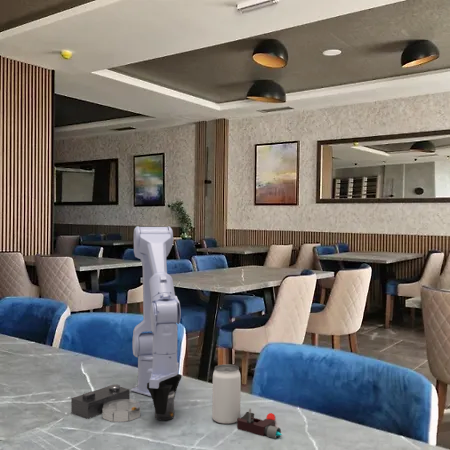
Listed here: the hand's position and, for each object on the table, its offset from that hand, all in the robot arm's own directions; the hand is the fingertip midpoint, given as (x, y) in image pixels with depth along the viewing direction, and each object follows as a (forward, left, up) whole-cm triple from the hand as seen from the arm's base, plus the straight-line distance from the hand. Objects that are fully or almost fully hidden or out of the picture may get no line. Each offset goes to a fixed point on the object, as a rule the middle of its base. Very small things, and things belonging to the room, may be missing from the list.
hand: (164, 409), depth 126 cm
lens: (0, 0, -2) cm, 2 cm away
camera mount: (+5, -12, -2) cm, 13 cm away
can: (-8, +12, -2) cm, 15 cm away
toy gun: (-9, +22, -2) cm, 24 cm away
